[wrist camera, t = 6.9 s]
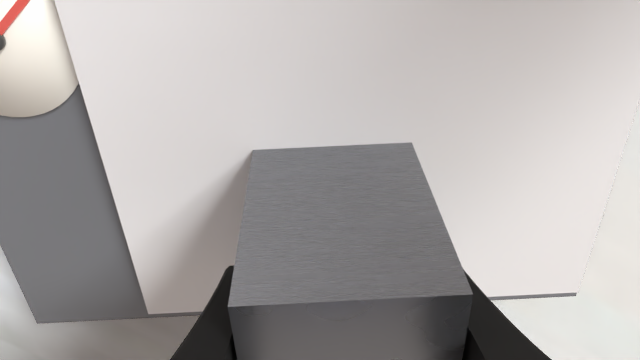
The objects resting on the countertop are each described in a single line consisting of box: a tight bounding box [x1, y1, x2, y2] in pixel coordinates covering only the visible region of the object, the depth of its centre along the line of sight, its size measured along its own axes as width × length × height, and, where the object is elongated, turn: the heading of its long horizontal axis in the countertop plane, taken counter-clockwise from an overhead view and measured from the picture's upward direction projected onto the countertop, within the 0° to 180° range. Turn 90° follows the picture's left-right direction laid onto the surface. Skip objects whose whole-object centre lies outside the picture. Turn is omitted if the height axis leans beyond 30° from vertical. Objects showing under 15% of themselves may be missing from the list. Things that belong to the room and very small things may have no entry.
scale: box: [0, 0, 640, 323], centre depth 15 cm, size 20×16×3 cm
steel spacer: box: [228, 142, 473, 360], centre depth 13 cm, size 4×4×6 cm
